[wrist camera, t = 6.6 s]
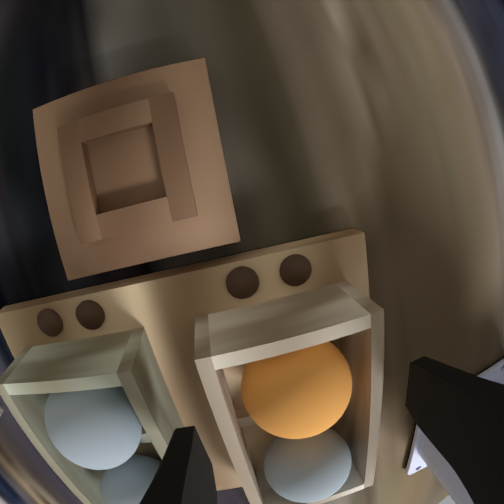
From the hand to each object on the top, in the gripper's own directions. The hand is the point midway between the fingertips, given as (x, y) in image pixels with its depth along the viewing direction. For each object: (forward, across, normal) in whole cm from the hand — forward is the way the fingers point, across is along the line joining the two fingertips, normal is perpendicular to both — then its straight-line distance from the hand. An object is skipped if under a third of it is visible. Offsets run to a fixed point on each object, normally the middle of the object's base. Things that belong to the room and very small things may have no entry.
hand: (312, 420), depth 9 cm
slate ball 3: (+2, 0, +5) cm, 5 cm away
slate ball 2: (+2, +8, +5) cm, 10 cm away
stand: (+5, +4, -8) cm, 11 cm away
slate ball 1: (+2, +8, 0) cm, 8 cm away
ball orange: (+2, 0, 0) cm, 2 cm away
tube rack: (+5, +4, +2) cm, 7 cm away
